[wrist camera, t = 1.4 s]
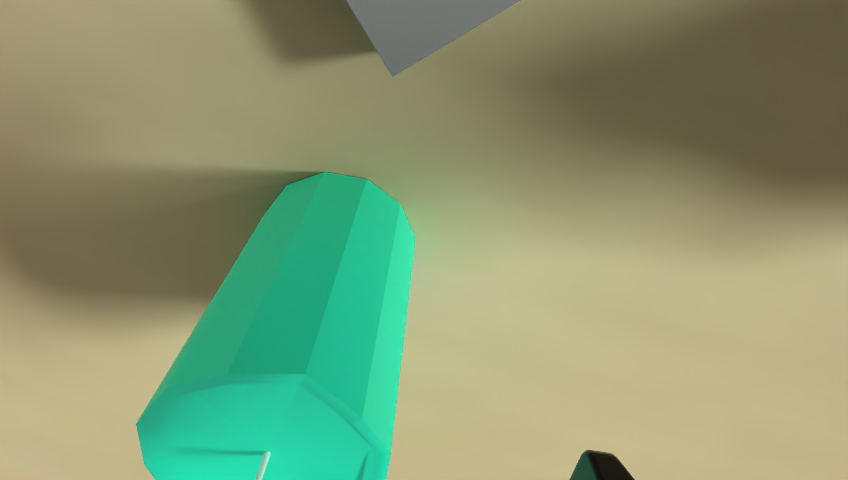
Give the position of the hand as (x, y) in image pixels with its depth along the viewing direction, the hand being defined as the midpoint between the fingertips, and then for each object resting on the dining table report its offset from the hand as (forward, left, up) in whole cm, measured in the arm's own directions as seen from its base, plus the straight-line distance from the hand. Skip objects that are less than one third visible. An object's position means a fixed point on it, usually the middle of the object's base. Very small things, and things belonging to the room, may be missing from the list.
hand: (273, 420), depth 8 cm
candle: (-3, +4, -14) cm, 15 cm away
